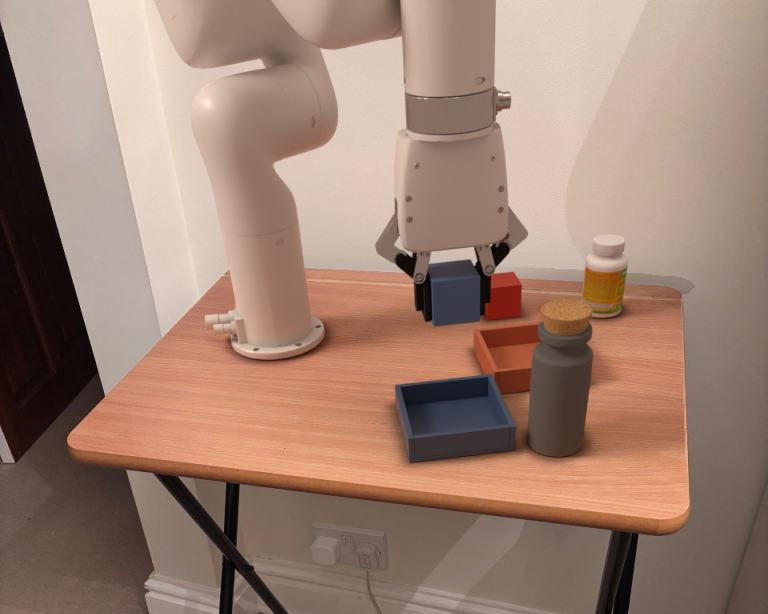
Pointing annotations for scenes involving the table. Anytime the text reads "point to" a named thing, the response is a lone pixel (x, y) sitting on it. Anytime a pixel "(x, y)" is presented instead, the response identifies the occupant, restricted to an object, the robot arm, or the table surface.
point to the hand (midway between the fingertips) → (452, 311)
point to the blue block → (454, 292)
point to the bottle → (560, 379)
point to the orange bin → (507, 354)
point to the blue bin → (454, 418)
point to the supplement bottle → (605, 276)
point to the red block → (504, 296)
